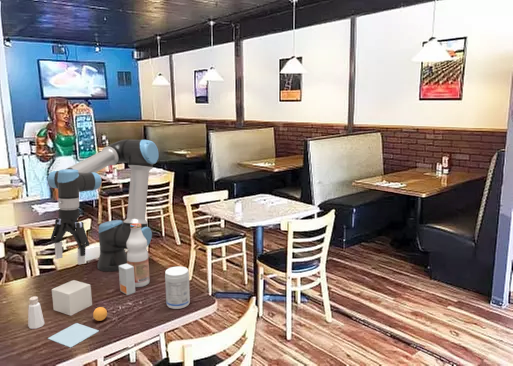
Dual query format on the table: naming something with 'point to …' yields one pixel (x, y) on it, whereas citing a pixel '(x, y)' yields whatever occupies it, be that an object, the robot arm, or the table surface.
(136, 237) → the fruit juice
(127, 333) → the table surface
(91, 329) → the plain pale blue panel
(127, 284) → the skincare box
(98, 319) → the ball
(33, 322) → the pepper shaker
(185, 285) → the supplement tub
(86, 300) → the plain cream cube
